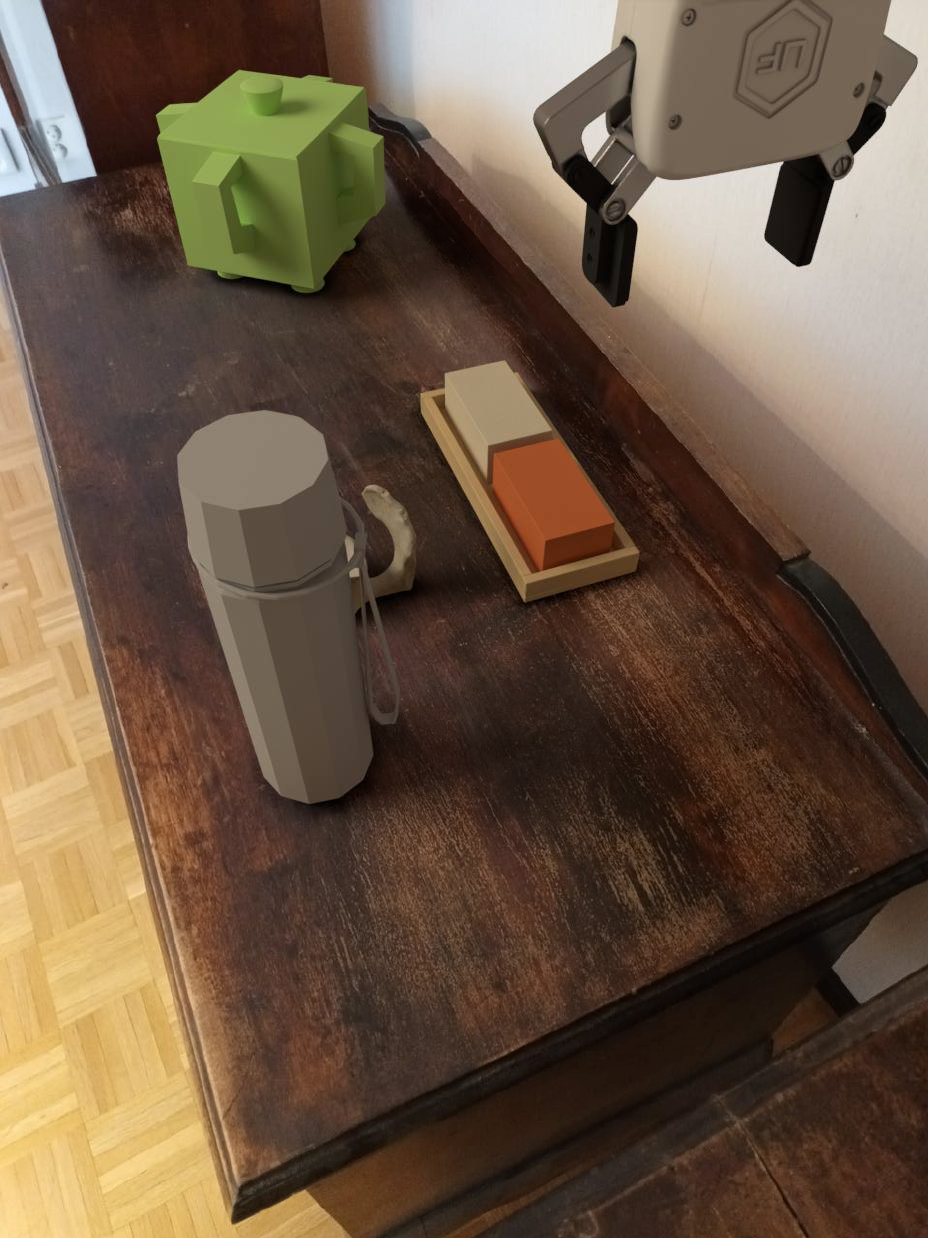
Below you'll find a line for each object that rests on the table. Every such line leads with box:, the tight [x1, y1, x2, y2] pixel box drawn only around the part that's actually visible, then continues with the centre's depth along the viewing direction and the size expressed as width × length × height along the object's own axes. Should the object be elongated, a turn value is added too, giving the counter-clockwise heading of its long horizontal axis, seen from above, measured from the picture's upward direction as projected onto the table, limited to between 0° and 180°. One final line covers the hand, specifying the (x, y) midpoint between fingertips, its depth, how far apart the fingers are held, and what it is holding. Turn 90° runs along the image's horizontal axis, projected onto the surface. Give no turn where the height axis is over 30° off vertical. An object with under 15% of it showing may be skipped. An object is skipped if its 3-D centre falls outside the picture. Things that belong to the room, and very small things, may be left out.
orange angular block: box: [492, 438, 615, 572], centre depth 70 cm, size 10×6×4 cm, turn 20°
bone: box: [345, 484, 417, 614], centre depth 65 cm, size 9×6×10 cm
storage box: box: [155, 69, 387, 294], centre depth 91 cm, size 25×23×17 cm
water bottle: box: [176, 409, 401, 805], centre depth 49 cm, size 9×8×25 cm
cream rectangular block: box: [444, 359, 552, 484], centre depth 77 cm, size 10×6×4 cm, turn 20°
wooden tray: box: [419, 371, 640, 603], centre depth 74 cm, size 24×9×2 cm, turn 20°
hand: (698, 272), depth 44 cm, fingers open, 9 cm apart
